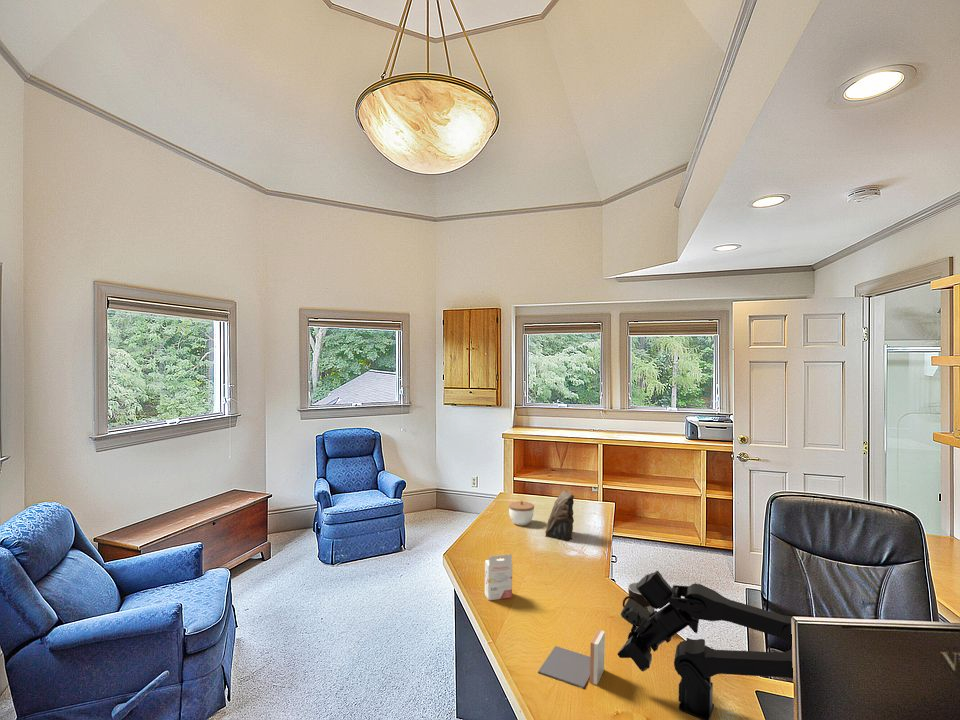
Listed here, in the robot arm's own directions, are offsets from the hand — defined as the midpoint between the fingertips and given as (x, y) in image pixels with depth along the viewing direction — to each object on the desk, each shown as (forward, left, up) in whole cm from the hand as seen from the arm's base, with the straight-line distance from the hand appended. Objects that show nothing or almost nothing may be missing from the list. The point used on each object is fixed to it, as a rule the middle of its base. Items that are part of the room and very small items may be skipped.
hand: (619, 655), depth 122 cm
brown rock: (+60, -85, -7) cm, 104 cm away
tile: (+5, +1, -7) cm, 9 cm away
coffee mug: (+6, -33, -7) cm, 34 cm away
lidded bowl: (+83, -89, -7) cm, 122 cm away
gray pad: (+13, +2, -7) cm, 15 cm away
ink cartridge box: (+49, -19, -7) cm, 53 cm away
